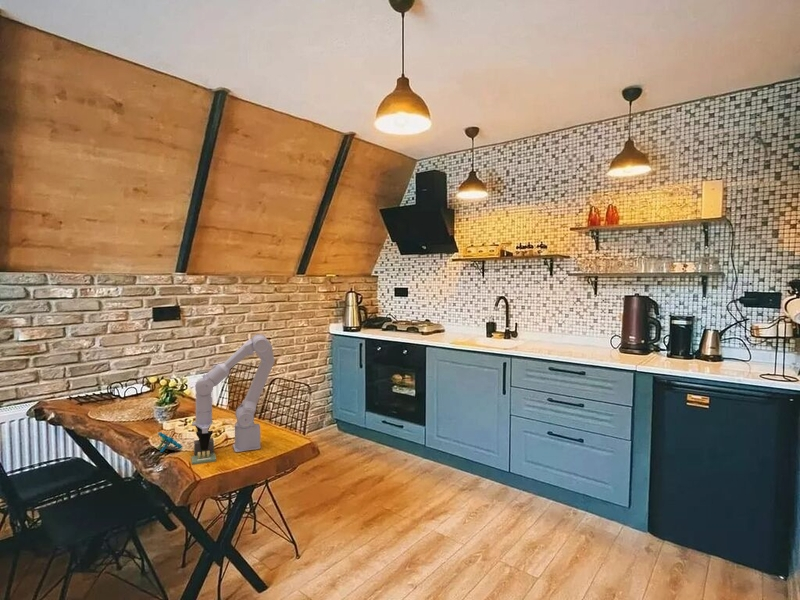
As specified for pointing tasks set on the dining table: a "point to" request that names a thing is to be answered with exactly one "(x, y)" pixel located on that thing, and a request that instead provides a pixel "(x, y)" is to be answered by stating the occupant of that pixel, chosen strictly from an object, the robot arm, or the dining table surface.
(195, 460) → the header board
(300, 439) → the dining table surface
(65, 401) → the dining table surface
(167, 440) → the teal plastic t-shaped piece
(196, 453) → the plug housing
